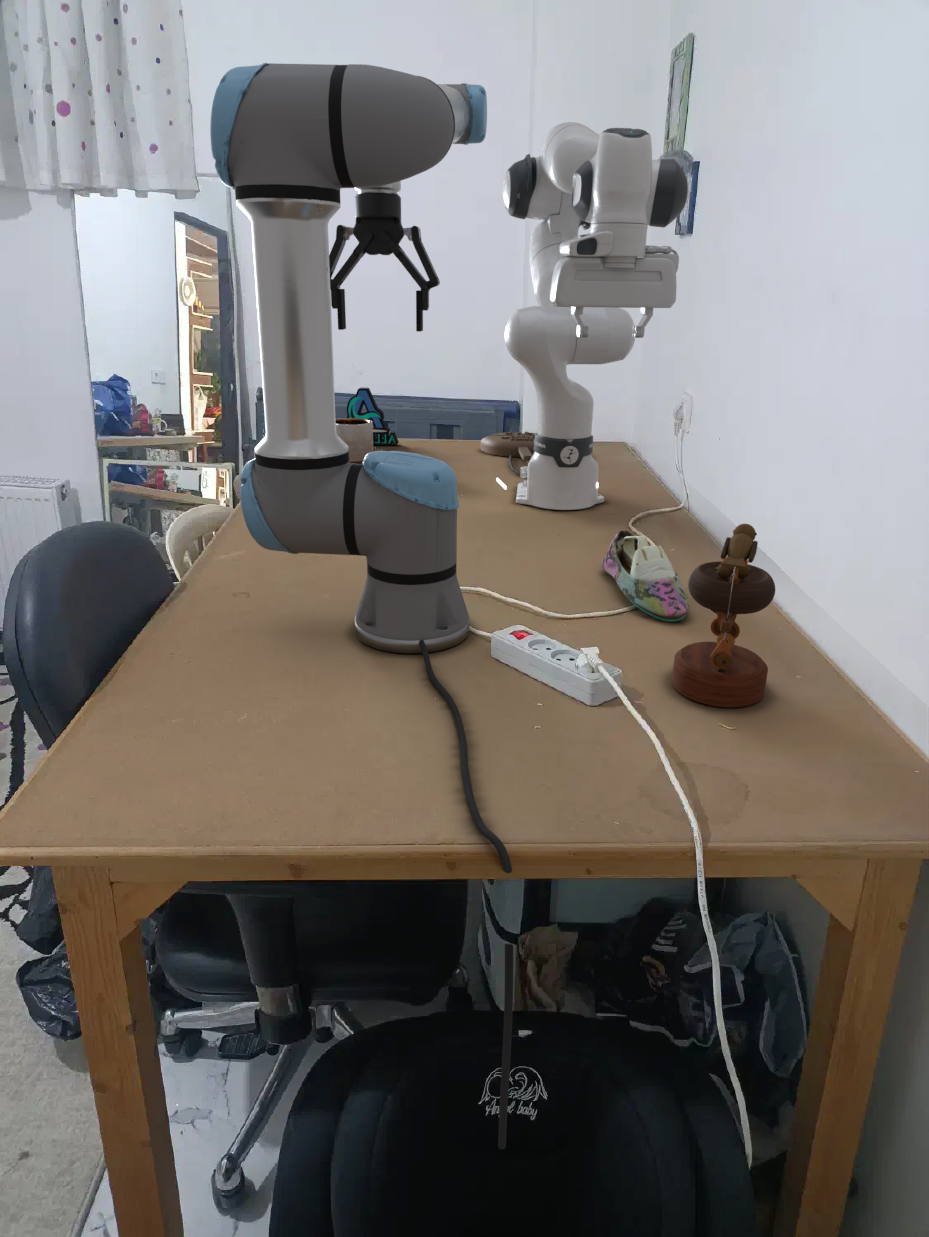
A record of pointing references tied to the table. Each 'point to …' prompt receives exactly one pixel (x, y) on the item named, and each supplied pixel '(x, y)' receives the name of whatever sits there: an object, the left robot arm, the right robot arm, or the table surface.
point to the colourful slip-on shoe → (646, 577)
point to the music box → (726, 628)
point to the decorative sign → (371, 416)
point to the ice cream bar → (510, 444)
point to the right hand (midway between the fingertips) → (610, 337)
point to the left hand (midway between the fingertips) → (380, 330)
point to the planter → (356, 437)
